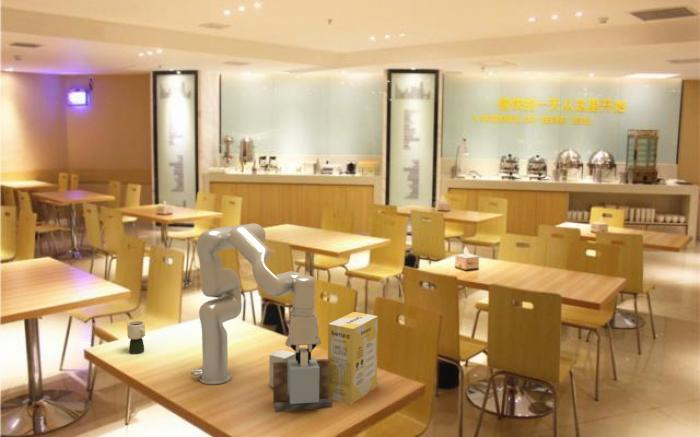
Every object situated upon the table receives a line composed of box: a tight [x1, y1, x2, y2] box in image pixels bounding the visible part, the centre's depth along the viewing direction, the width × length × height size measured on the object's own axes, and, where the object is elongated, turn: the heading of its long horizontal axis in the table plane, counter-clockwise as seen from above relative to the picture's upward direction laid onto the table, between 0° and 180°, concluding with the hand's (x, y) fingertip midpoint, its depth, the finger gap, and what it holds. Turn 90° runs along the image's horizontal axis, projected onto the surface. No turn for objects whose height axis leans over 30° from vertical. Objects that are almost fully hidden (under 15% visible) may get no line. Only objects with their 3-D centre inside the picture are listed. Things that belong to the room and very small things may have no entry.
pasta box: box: [327, 311, 379, 405], centre depth 238 cm, size 18×10×28 cm, turn 149°
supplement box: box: [268, 349, 296, 388], centre depth 245 cm, size 7×7×13 cm
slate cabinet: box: [287, 346, 320, 404], centre depth 225 cm, size 10×9×18 cm
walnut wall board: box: [272, 358, 333, 413], centre depth 228 cm, size 20×8×15 cm, turn 102°
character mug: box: [126, 320, 146, 354], centre depth 277 cm, size 11×7×13 cm, turn 58°
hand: (303, 361), depth 224 cm, fingers closed on slate cabinet, 2 cm apart
